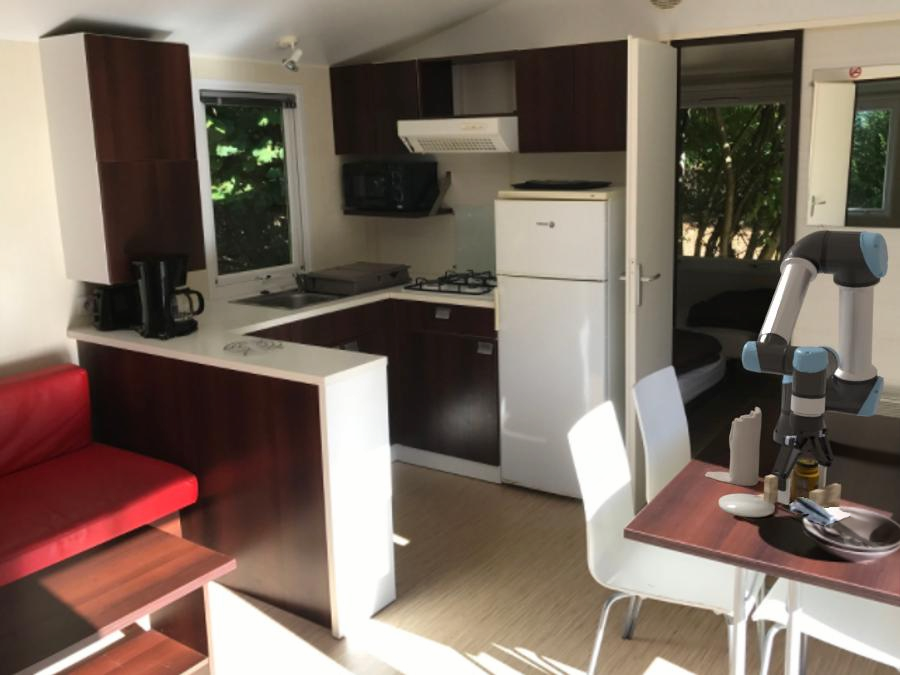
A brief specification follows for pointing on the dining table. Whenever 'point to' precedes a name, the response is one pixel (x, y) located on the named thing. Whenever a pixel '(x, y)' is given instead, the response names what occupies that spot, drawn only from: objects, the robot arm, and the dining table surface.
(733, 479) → the candle
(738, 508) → the coaster
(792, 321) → the robot arm
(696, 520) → the dining table surface
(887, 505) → the dining table surface
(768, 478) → the rack
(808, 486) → the condiment
